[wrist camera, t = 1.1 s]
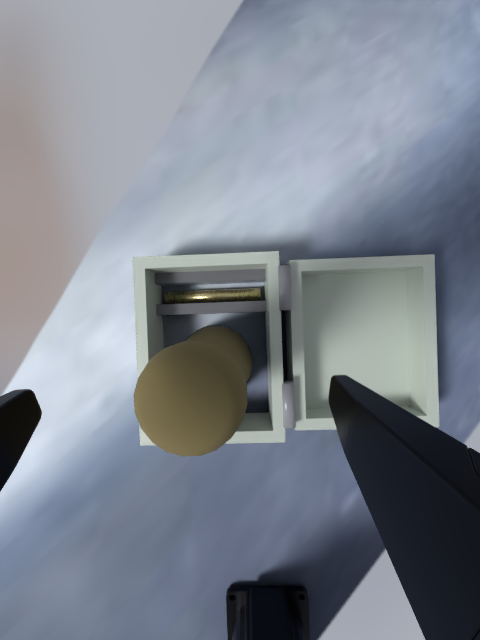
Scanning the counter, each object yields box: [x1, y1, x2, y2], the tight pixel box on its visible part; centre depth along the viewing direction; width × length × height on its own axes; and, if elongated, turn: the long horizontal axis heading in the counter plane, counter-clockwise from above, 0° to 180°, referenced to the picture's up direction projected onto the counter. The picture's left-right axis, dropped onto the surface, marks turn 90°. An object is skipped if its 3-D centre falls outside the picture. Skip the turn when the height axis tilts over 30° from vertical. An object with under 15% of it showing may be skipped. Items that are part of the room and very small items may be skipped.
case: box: [133, 251, 296, 446], centre depth 20 cm, size 13×11×4 cm
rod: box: [164, 288, 261, 304], centre depth 22 cm, size 1×8×1 cm
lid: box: [285, 254, 439, 430], centre depth 20 cm, size 12×10×3 cm
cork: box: [134, 326, 253, 456], centre depth 16 cm, size 6×6×11 cm
